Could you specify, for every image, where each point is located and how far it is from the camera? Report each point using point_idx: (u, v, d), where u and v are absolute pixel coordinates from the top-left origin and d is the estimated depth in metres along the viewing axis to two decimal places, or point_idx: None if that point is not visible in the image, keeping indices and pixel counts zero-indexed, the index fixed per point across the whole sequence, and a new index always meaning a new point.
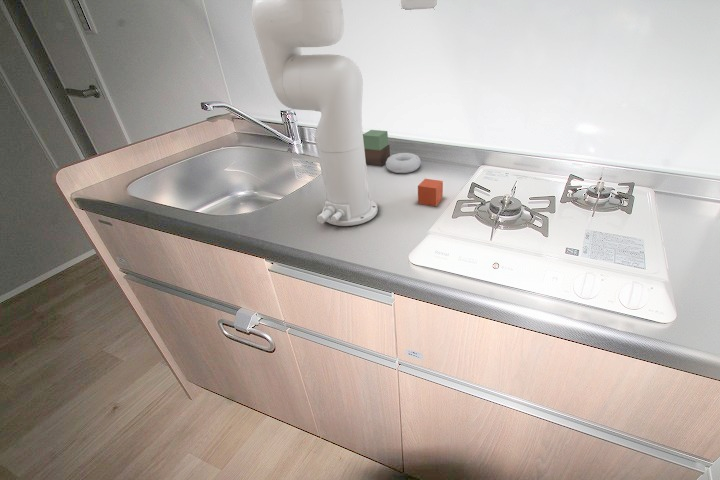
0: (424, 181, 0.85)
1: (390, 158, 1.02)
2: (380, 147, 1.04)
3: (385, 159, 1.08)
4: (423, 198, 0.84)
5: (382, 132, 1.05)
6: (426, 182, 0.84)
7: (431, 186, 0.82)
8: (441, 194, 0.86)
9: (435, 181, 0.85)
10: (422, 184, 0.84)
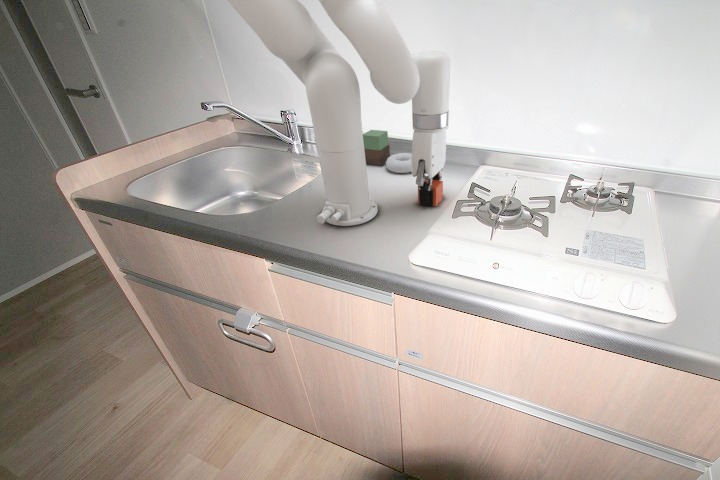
0: None
1: (390, 158, 1.02)
2: (380, 147, 1.04)
3: (385, 159, 1.08)
4: None
5: (382, 132, 1.05)
6: None
7: None
8: (441, 194, 0.86)
9: (435, 181, 0.85)
10: None
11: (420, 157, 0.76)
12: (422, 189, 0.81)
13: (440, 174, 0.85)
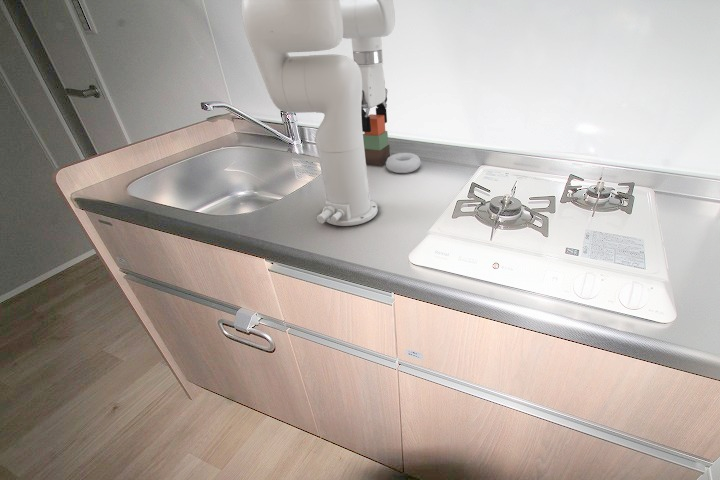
0: (369, 115, 1.04)
1: (390, 158, 1.02)
2: (380, 147, 1.04)
3: (385, 159, 1.08)
4: None
5: None
6: (370, 116, 1.03)
7: (373, 118, 1.01)
8: (383, 127, 1.05)
9: (378, 115, 1.03)
10: None
11: None
12: None
13: (384, 103, 1.04)
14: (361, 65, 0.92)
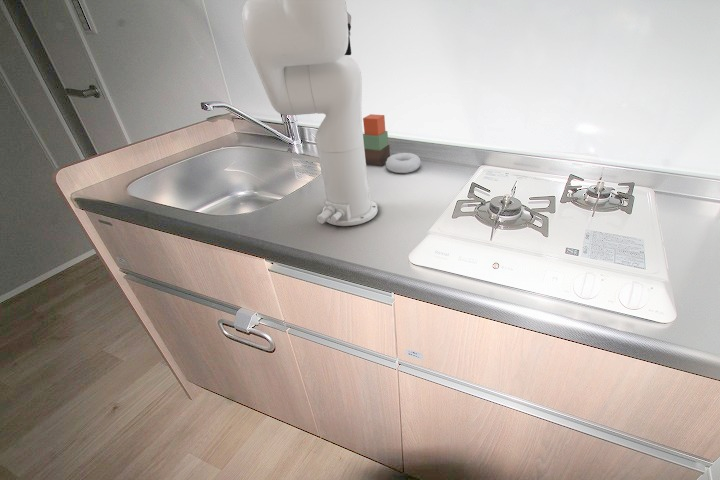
0: (369, 115, 1.04)
1: (390, 158, 1.02)
2: (380, 147, 1.04)
3: (385, 159, 1.08)
4: (368, 129, 1.03)
5: None
6: (370, 116, 1.03)
7: (373, 118, 1.01)
8: (383, 127, 1.05)
9: (378, 115, 1.03)
10: (367, 117, 1.02)
11: None
12: None
13: (347, 31, 0.91)
14: None
